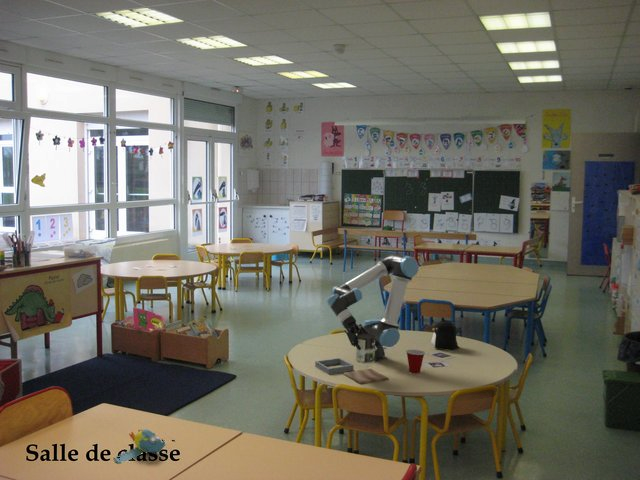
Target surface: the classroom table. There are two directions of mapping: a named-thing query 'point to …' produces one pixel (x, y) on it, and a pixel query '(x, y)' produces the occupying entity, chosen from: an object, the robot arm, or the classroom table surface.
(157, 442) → the blue toy bird
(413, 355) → the plastic cup
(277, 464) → the classroom table surface
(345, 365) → the grey tub
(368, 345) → the coffee can
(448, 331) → the penguin
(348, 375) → the walnut board
